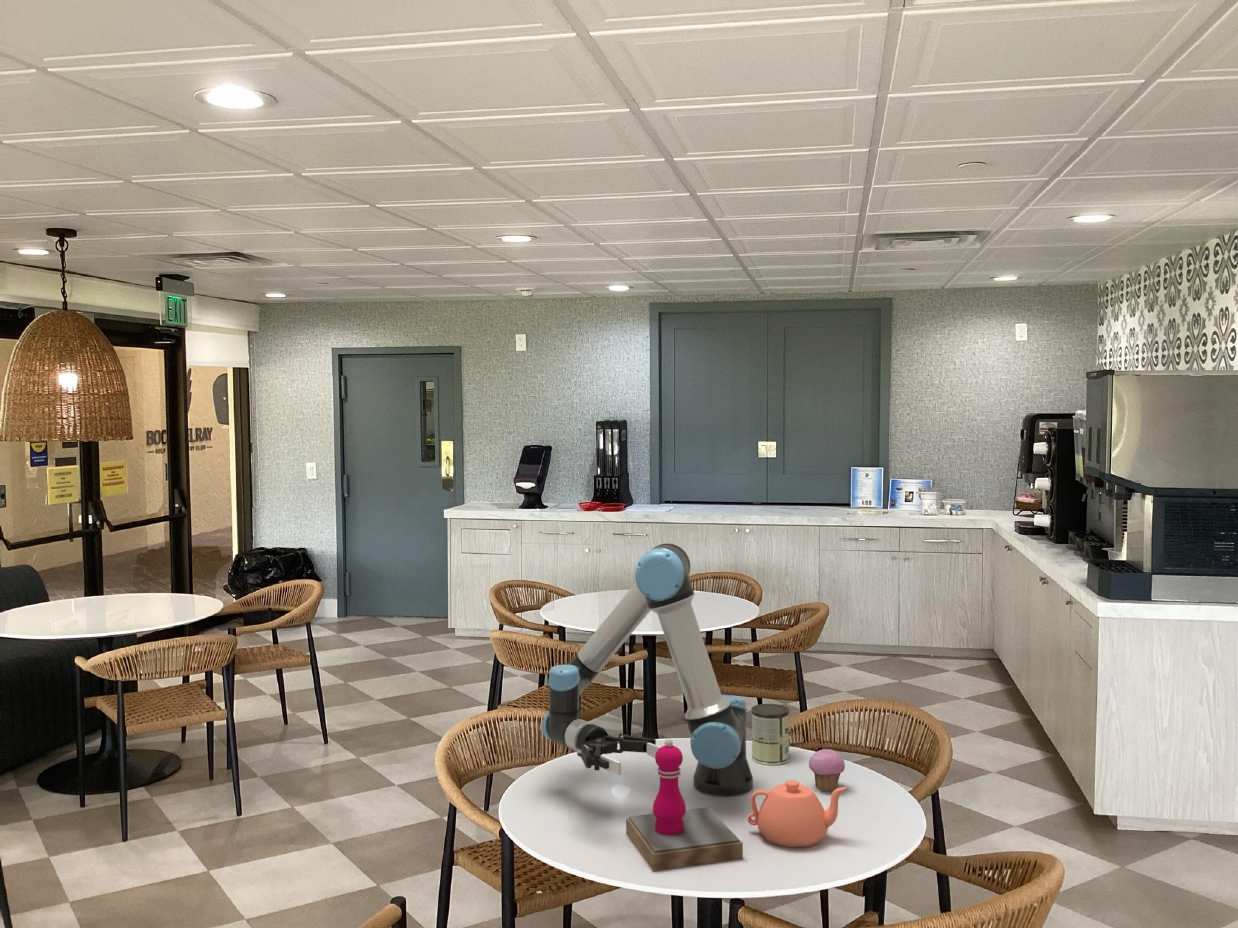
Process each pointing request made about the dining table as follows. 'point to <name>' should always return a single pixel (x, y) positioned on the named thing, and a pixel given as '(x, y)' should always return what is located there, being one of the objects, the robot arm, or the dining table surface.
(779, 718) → the coffee can
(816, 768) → the cupcake
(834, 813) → the teapot
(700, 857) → the walnut stand
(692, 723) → the robot arm
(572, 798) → the dining table surface
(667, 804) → the pepper mill
